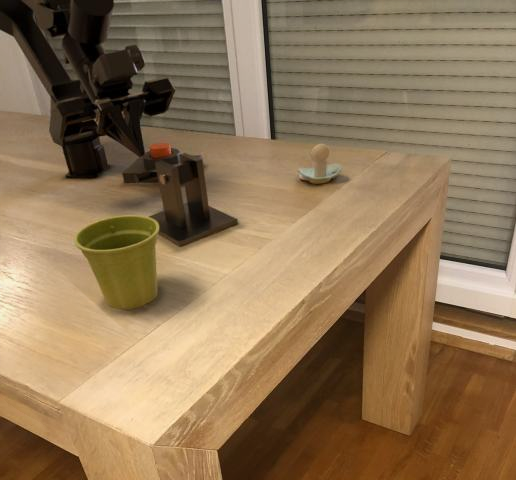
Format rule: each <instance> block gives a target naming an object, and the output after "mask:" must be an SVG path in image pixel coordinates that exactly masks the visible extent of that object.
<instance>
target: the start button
mask: <svg viewBox="0 0 516 480" xmlns="http://www.w3.org/2000/svg"><path fill="white" fill-rule="evenodd" d="M171 148H172V147H171V144H170V143H169V142H158V143H154V144H150V146H149V151H150V153H151V157H153V158H162V157H167V156H169V155H172V154H171Z"/></svg>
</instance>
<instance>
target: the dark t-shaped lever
mask: <svg viewBox="0 0 516 480" xmlns="http://www.w3.org/2000/svg"><path fill="white" fill-rule="evenodd" d="M173 166H176V167H177V168H178V174H179V180H180V185H184V183H186V182H189V181H192V180H194V177H193V173H192V169H191V166H190V163H178V164H175V165H173ZM134 178H135V181H136V182H137V183H136V184H142V183H141V182H144V181H147V180H150V179H154V178H158V175H157V170H156V168H155V169H151V170H148V171H145V172H142V173H139V174H135V175H134Z"/></svg>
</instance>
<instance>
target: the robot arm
mask: <svg viewBox="0 0 516 480" xmlns="http://www.w3.org/2000/svg"><path fill="white" fill-rule="evenodd" d="M114 6H115V1H114V0H0V31H2V32H3V33H5V34H7V35H9V36H11V37H13V39H14V40H15V41H16V43H17V45H18V47H19V48H20V50H21V51H22V53H23V54H24V56H25V59H26V60H27V61H28V63H29V65H30V66H31V68H32V69H33V72H34V73H35V74H36V76H37V78H38V80H39V81H40V83H41V85H42V86H43V87H44V89H45V91H46V92H47V94H48V96H49V97H50V108H49V109H50V111H49V112H50V116H49V117H50V119H49V127H48V132H49V134H50V137H51V139H52V142H53V144H56V145H58V146H60V147H61V148H62V152H63V155H64V159H65V163H66V167H67V171H68V172H67V173H65V175H64V177H65V179H96V178H99V177H100V176H101V175H102V174H103V173H104V172H106V171H107V170H108V169H109V168H110V167H111V165H110V163H108V159H107V154H106V151H105V150H106V149H105V146H104V144H102V143H101V138H100V137H108V138H110V139H112V140H114V141H115V142H116V143H119V144H120V145H122V146H123V147H124V148H126V149H127V150H129V152H131V153H133V154H134V155H135V156H136V157H137V158H139V157H141V156H144V154H145V153H146V149H145V143H144V138H143V133H142V126H141V125H142V124H141V121H142V117H143V115H146V116H148V117H155V116H158V115H162V114H165V113H166V112H167V111H168V110H169V108H170V105H171V103H172V100H173V97H174V95H175V93H176V87H175V86H174V84H173V83H172V81H171V79H169V77H166V76H165V77H164V76H163V77H159V78H153V79H149V80H144V83H143V86H142V90H141V91H140V92H139V91H138V92H136V93H130V92H129V91H130V90H132V89H133V86H134V83H133V81H132V78H133V77H134V76H138V74H139V72H140V71H141V70H143V69H144V68H145V66H146V60H145V58H144V55H143V53H142V50H140V48H139V47H138V45H137V44H130V45H126V46H125V48H124V49H122V50H118V51H114V52H108V53H107V51H106V49H105V47H104V46H103V43H105V41H106V40H107V39H108V37H109V31H110V27H111V21H112V17H113V11H114ZM46 36H48V38H50V39H53V38H58V37H63V38H62V39H61V40H62V41H61V50H62V52H63V58H62V59H63V62H64V64H66V65H68V64H69V65H70V66H71V68H72V70H73V72H74V73H75V75H76V77H77V79H76V80H73V79H72V78H71V77H70V74H69V73H68V72H67V69H66V68H65V66H64V65H63V63H62V61H60V59H59V57H58V55H57V54H56V52H55V50H54V49H53V47H52V45H51V44H50V43H49V41H48V39H47V37H46Z"/></svg>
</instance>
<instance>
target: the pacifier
mask: <svg viewBox="0 0 516 480" xmlns="http://www.w3.org/2000/svg"><path fill="white" fill-rule="evenodd" d="M329 156H330V149H329V146H328V145H327V144H325V143H318V144H316V145H315V146H314V147H313V148H312V149H311V152H310V158H311V160H312V162H313V167H309V168H308V167H306V168H305V167H304V168H302V167H301V168H298V170H297V171H298V173H299V174H298V179H300V180H302V181H306V182H307V181H308V182H309V183H310V184H314V185H315V184H319V185H320V184H324V183H328V182H330V181H331V179H333V178H335V177H338V176H339V175H340V173H341V172H342V171H343V163H340V162H339V163H338V162H337V163H330V164H327V163H328V161H327V160H328V158H329Z"/></svg>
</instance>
